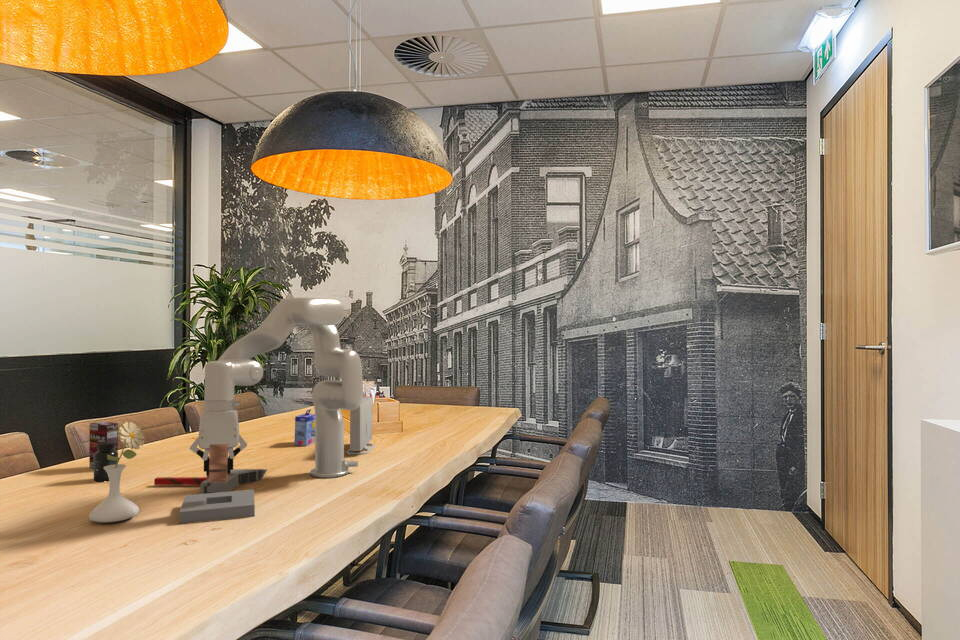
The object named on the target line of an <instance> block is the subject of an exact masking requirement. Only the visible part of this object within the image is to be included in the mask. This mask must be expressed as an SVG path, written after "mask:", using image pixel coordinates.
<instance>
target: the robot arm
mask: <svg viewBox="0 0 960 640" xmlns="http://www.w3.org/2000/svg"><path fill="white" fill-rule="evenodd" d="M345 315H346V311H345V307H344V305H343V303H342V302H341V301H340V300H338V299H335V298H318V297H316V298H315V297H286V298H283V299H281V300H280V301H279V302H278V303H277V304H276V305H275V307H274V308H273V309H272V310H271V311H270V313H269V314H268V315H267V316H266V317H265V319H263V321H262V323H260V325H259V326H258V327H257V328H256V329H255V330H252V331H251V332H249V333H247V334H245V335H244V336H242V337H240V338H239V339H237V340H236V341H235V342H233V343H232V344H231V345H229V346H228V348H226V350H225V351H224V352H223V353H222V354H221V355H220V357H219V358H218V359H217V360H211V361H208V362H206V364H205V366H204V402H203V403H204V404H203V405H204V406H203V407H204V408H203V409H204V410H203V411H201V412H200V413H201V414H200V419H199V425H198V436H197V438H196V439H195V440H194V441H193V443H192V444H191V445H190V447H189V450H190V451H191V452H193V453H195V454H196V455H197V456H199V457H200V458H201V459H202V460H203V472H205V474H206V476H207V475H209V449H210V445H217V444H228V474H230V472H231V470H233V469H234V459H235V457H237V455H238V454H239V453H241V451H243V450H244V449H246V448H247V446H248V443H247V441H246V440H245V439H244V438H243V437H242V436H241V435H240V422H239V414H238V410H237V409H235V408H236V407H240V405H241V401H237V400H235V387H236V386H242V387H243V386H244V387H250V386H251V387H252V386H255V385H256V384H258V383H259V382H260V381H262V378H263V376H264V368H263V365H262V364H261V363H260V362H259V361H256V360H254V359H252V358H255V357H256V356H259V355H261V354H262V355H263V354H265V353H268V352H272V351H273V350H276V349H278V348H281V346H282V345H283V344H284V342H285V341H286V340H287V338H288V337H289V336H290V335H291V333H292V332H293V331H294V329H295V328H296V327H297V326H305V327H307V328H308V330H309V331H310V333H311V335H312V340H313V352H314V365H315V371H316V373H317V374H318V375H319V376H321V377H329V378H340V380H334V379H326V380H325V379H324V380H321V381H318V382H317V383H316V384H314V386H313V389H312V394H311V396H312V397H311V399H312V403H313V408H314V409H313V410H314V414H315V442H314V443H315V444H314V445H315V446H314V447H315V449H314V468H312V469H311V470H310V471H309V473H310V476H312V477H314V478H320V479H321V478H323V479H327V478H338V477H342V475H343V476H345V474H346V475H347V474H348V473H349V468H357V467H358V466H359V462H358V460H346V459H345V420H344V416H343V413H342V411H341V410H345V411H350V410H355V409H357V408H358V407H359V406H360V405H361V403H362V399H363V397H364V385H363V383H364V381H363V366H362V360H361V358H360V355H359V354H358V352H357V351H355V350H353V349H349V348H341V342H340V333H339V330H338V329H337V328H338V327H336V326H337V325H339V324H340V323H341V322H342V321H343V320H344V318H345ZM239 444H240V445H239ZM237 446H238V447H237ZM234 448H235V449H234ZM203 450H204V451H203ZM337 476H338V477H337Z"/></svg>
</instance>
